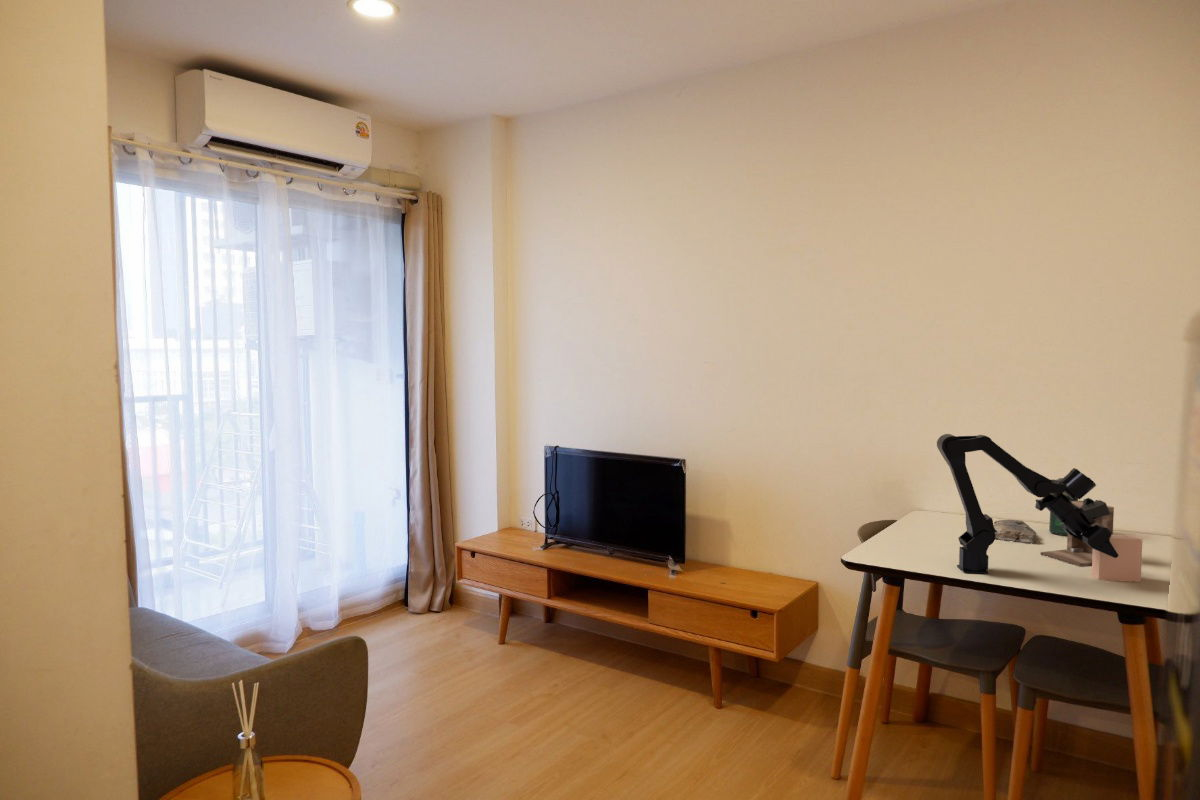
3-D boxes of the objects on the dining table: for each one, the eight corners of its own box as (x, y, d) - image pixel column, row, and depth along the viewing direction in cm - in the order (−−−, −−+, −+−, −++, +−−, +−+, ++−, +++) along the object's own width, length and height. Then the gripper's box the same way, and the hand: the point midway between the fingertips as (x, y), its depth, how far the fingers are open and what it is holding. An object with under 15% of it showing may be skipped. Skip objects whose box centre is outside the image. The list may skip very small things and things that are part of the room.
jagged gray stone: (992, 528, 263) (987, 539, 246) (993, 514, 263) (987, 524, 246) (1038, 533, 256) (1036, 545, 239) (1039, 519, 255) (1037, 530, 238)
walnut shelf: (1079, 566, 214) (1081, 511, 213) (1040, 554, 227) (1042, 502, 226) (1115, 562, 219) (1118, 508, 218) (1075, 550, 231) (1077, 499, 230)
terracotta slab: (1098, 579, 202) (1100, 537, 201) (1091, 574, 206) (1093, 533, 206) (1140, 582, 200) (1142, 539, 199) (1132, 577, 204) (1134, 535, 204)
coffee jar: (1075, 537, 247) (1077, 482, 246) (1048, 534, 252) (1049, 479, 251) (1077, 531, 255) (1079, 478, 254) (1050, 528, 260) (1052, 475, 259)
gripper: (1104, 497, 194) (1151, 541, 192) (1075, 484, 212) (1117, 524, 211) (1069, 526, 196) (1115, 569, 195) (1043, 511, 215) (1085, 550, 213)
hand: (1109, 552), depth 203 cm, fingers open, 9 cm apart
